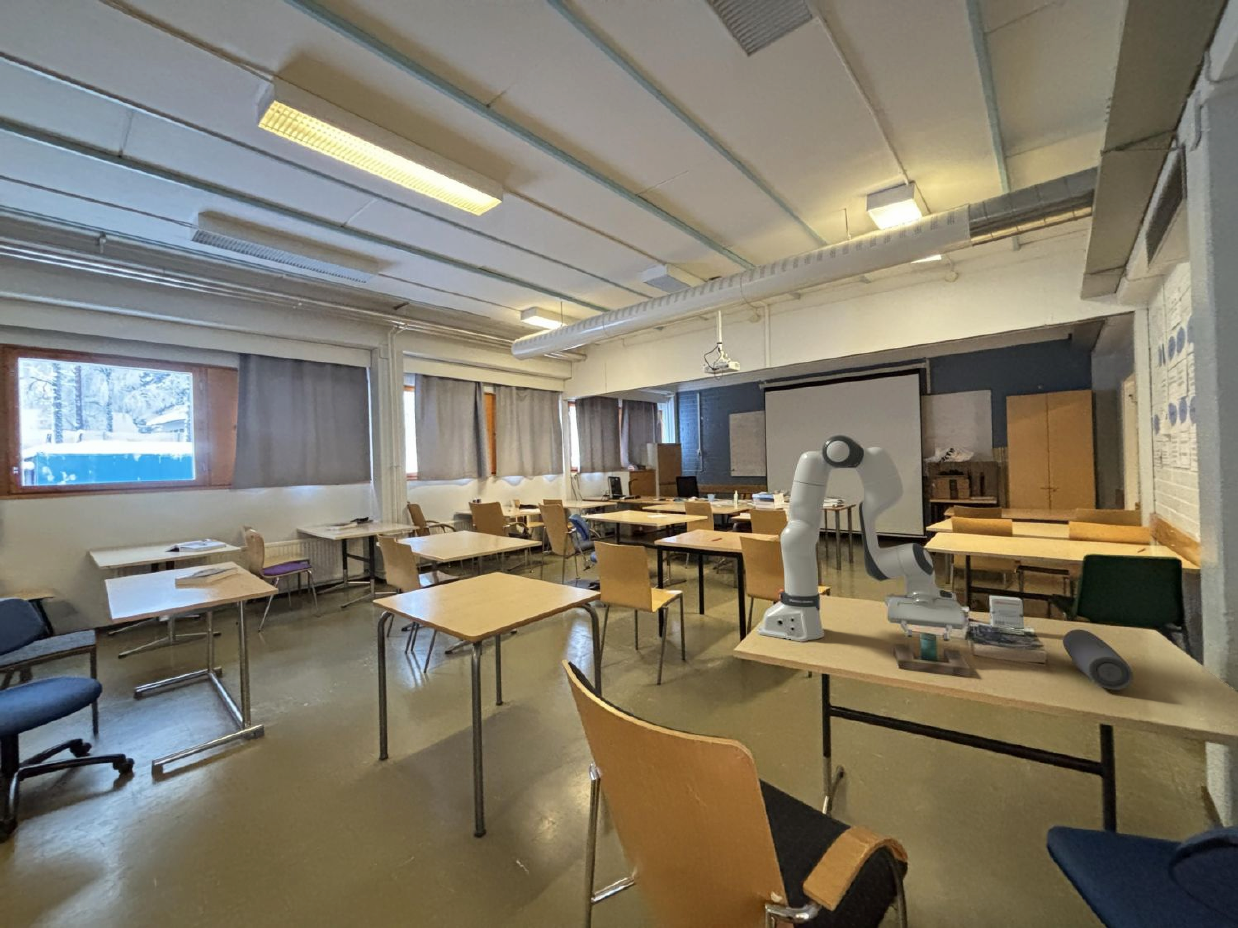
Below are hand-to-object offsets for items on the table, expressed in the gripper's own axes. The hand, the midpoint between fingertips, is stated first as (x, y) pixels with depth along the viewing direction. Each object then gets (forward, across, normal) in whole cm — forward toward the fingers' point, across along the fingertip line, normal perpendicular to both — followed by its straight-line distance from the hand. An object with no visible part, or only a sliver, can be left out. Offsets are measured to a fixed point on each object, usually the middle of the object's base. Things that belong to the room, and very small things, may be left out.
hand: (927, 638), depth 146 cm
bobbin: (+5, 0, +5) cm, 7 cm away
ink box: (-22, +28, +32) cm, 48 cm away
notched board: (+6, 0, +4) cm, 7 cm away
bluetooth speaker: (+2, +39, +8) cm, 40 cm away
